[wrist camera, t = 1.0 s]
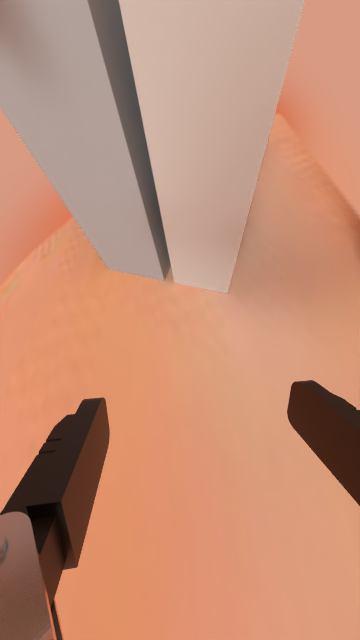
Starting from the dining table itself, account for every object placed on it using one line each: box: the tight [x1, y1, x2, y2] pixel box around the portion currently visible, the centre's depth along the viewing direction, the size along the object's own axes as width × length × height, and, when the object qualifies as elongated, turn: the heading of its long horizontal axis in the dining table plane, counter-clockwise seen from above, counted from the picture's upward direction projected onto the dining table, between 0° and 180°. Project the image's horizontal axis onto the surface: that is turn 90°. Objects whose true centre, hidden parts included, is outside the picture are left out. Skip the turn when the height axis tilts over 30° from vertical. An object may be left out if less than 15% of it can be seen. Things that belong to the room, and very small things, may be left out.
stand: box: [0, 0, 305, 294], centre depth 26 cm, size 20×24×34 cm
